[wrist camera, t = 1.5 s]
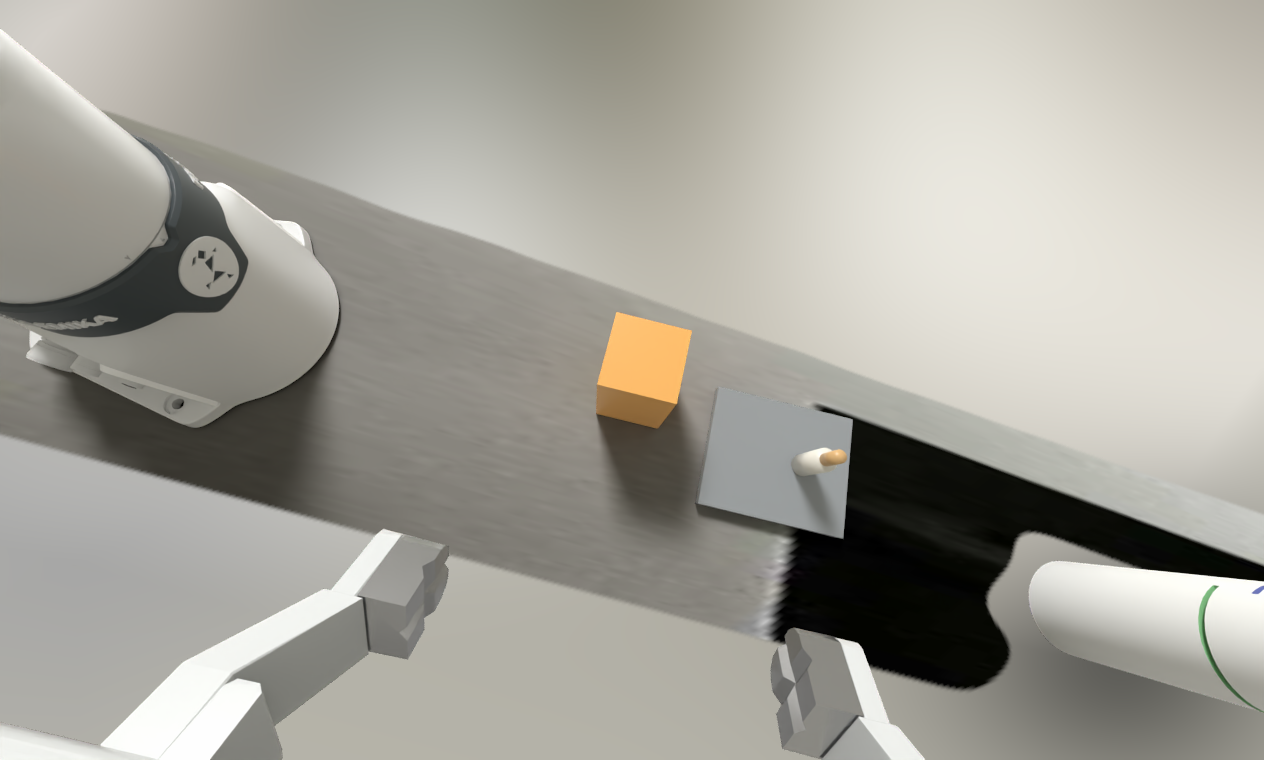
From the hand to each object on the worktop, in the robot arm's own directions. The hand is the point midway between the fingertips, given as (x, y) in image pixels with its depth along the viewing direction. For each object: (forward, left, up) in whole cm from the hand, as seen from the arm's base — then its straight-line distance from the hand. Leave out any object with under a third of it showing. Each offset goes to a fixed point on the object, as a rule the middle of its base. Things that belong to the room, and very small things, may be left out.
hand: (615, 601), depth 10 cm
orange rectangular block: (0, +12, -26) cm, 29 cm away
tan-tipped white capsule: (+15, +9, -26) cm, 31 cm away
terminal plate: (+13, +9, -26) cm, 30 cm away
